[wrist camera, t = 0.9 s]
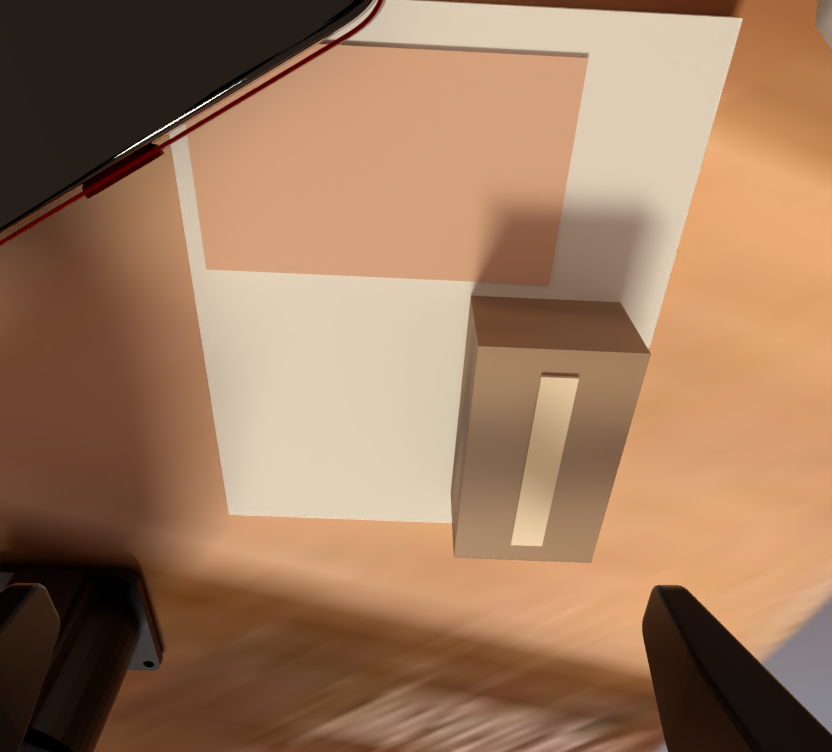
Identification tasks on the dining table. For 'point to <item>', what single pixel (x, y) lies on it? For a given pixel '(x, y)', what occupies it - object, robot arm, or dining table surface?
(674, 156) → the mat
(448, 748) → the dining table surface
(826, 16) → the bunny figurine
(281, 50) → the grey and red slab
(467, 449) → the slotted tan box
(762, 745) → the robot arm
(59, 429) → the dining table surface
